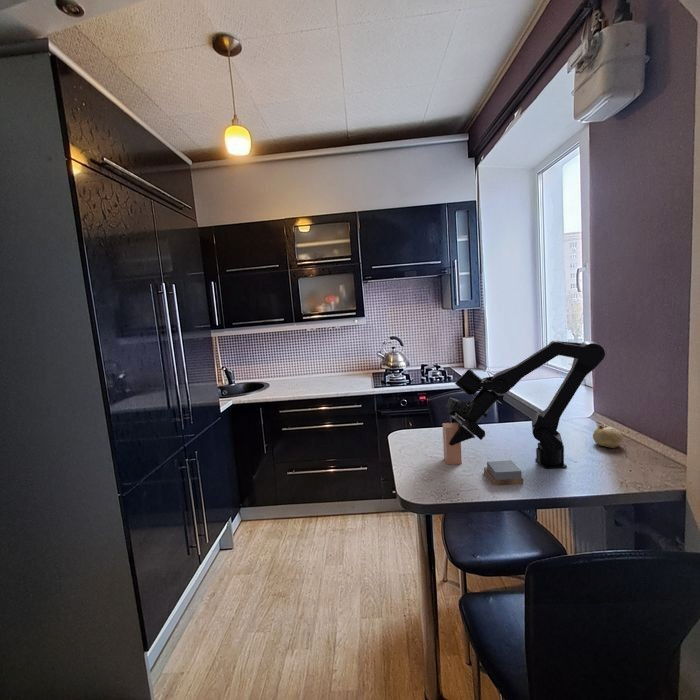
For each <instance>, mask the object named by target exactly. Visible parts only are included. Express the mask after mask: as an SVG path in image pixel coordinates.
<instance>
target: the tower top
mask: <svg viewBox="0 0 700 700" xmlns="http://www.w3.org/2000/svg"><path fill="white" fill-rule="evenodd" d="M486 467H487V469H488V471H489V472H490V473H491V474H492V476H493V477H494V478H495V480H506V479H522V478H523V476H522V475H523V474H522V473H523V471H522V469H520V468H519V467H518V465H516V463H515V462H513V460H496V461H495V460H494V461H491V460H490V461H486Z"/></svg>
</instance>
